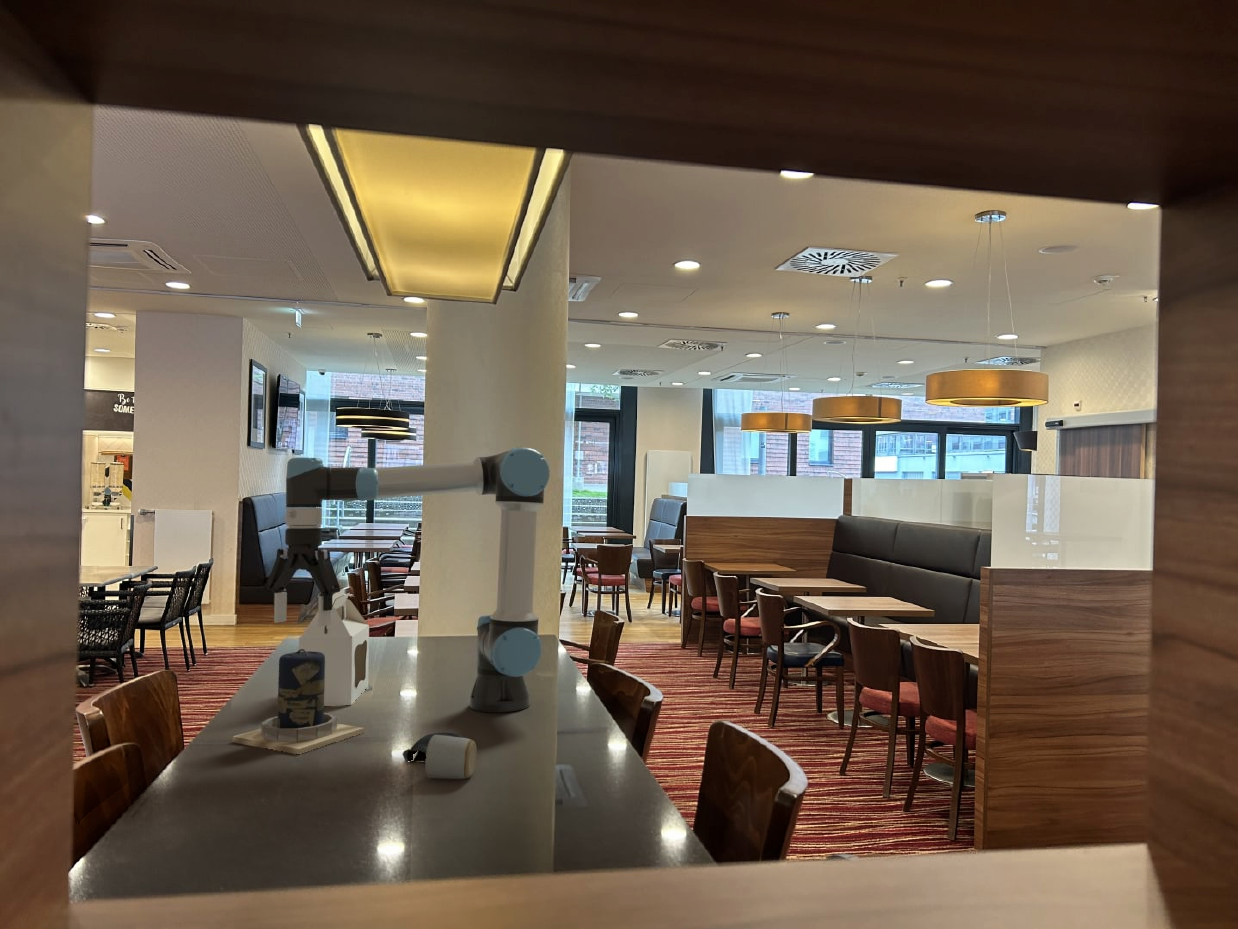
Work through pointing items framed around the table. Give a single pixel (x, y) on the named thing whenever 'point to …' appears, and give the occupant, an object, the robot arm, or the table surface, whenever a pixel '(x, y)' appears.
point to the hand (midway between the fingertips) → (301, 624)
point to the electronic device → (424, 745)
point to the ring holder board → (297, 745)
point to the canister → (301, 689)
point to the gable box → (341, 650)
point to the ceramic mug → (450, 757)
